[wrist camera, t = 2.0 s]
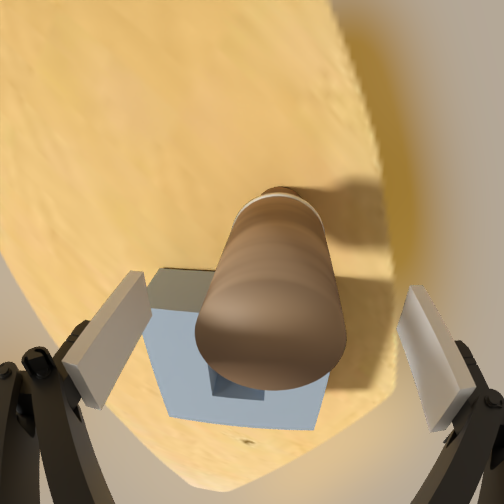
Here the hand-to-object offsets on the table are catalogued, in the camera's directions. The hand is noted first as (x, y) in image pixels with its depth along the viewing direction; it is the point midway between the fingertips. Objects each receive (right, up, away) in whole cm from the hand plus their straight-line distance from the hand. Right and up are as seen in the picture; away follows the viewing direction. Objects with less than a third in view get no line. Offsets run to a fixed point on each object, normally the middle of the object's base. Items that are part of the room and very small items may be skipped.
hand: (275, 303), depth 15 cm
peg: (+1, +6, +10) cm, 12 cm away
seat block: (-2, -6, +17) cm, 18 cm away
